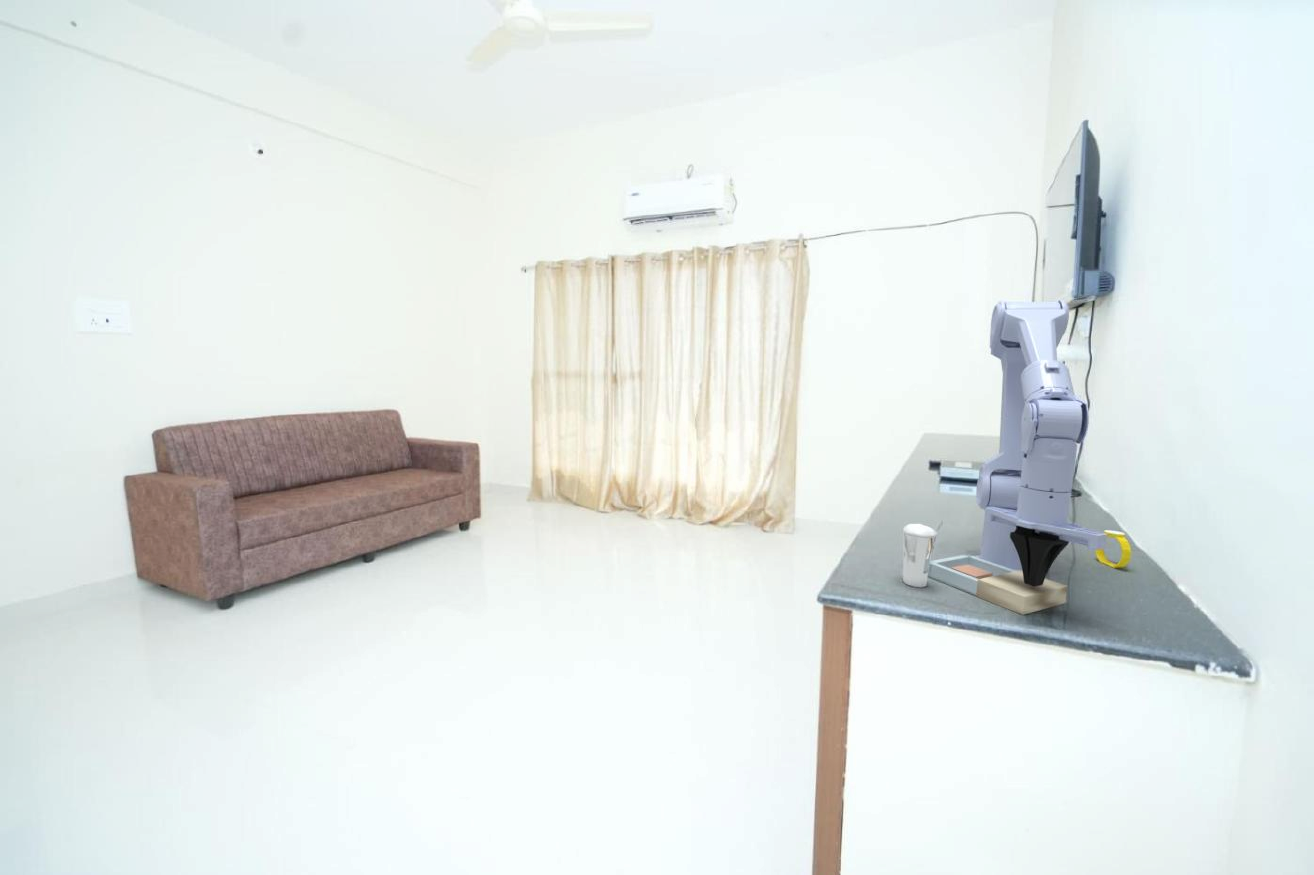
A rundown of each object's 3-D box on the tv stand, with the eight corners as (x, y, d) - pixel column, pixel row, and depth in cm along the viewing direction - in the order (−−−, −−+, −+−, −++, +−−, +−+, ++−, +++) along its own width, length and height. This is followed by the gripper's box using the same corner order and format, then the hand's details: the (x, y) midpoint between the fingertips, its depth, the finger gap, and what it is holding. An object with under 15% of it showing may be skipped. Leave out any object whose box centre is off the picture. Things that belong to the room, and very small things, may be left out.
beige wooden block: (1018, 586, 83) (1020, 570, 82) (1065, 603, 77) (1067, 586, 77) (976, 596, 78) (977, 579, 78) (1022, 614, 73) (1024, 597, 72)
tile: (992, 573, 83) (991, 582, 83) (968, 564, 86) (967, 573, 87) (975, 576, 81) (974, 586, 81) (951, 567, 85) (950, 576, 85)
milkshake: (941, 591, 80) (948, 525, 78) (902, 587, 81) (908, 522, 79) (932, 580, 84) (938, 517, 83) (895, 576, 85) (901, 514, 84)
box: (966, 567, 90) (967, 554, 90) (1018, 586, 83) (1020, 572, 82) (924, 575, 86) (925, 561, 86) (976, 596, 78) (977, 581, 78)
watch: (1089, 560, 97) (1091, 527, 96) (1104, 561, 97) (1107, 528, 96) (1117, 571, 91) (1120, 535, 90) (1134, 571, 91) (1137, 536, 90)
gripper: (975, 479, 79) (965, 569, 80) (1089, 502, 66) (1074, 609, 67) (1005, 476, 82) (995, 563, 83) (1120, 498, 69) (1106, 601, 70)
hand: (1033, 584), depth 75 cm, fingers closed
